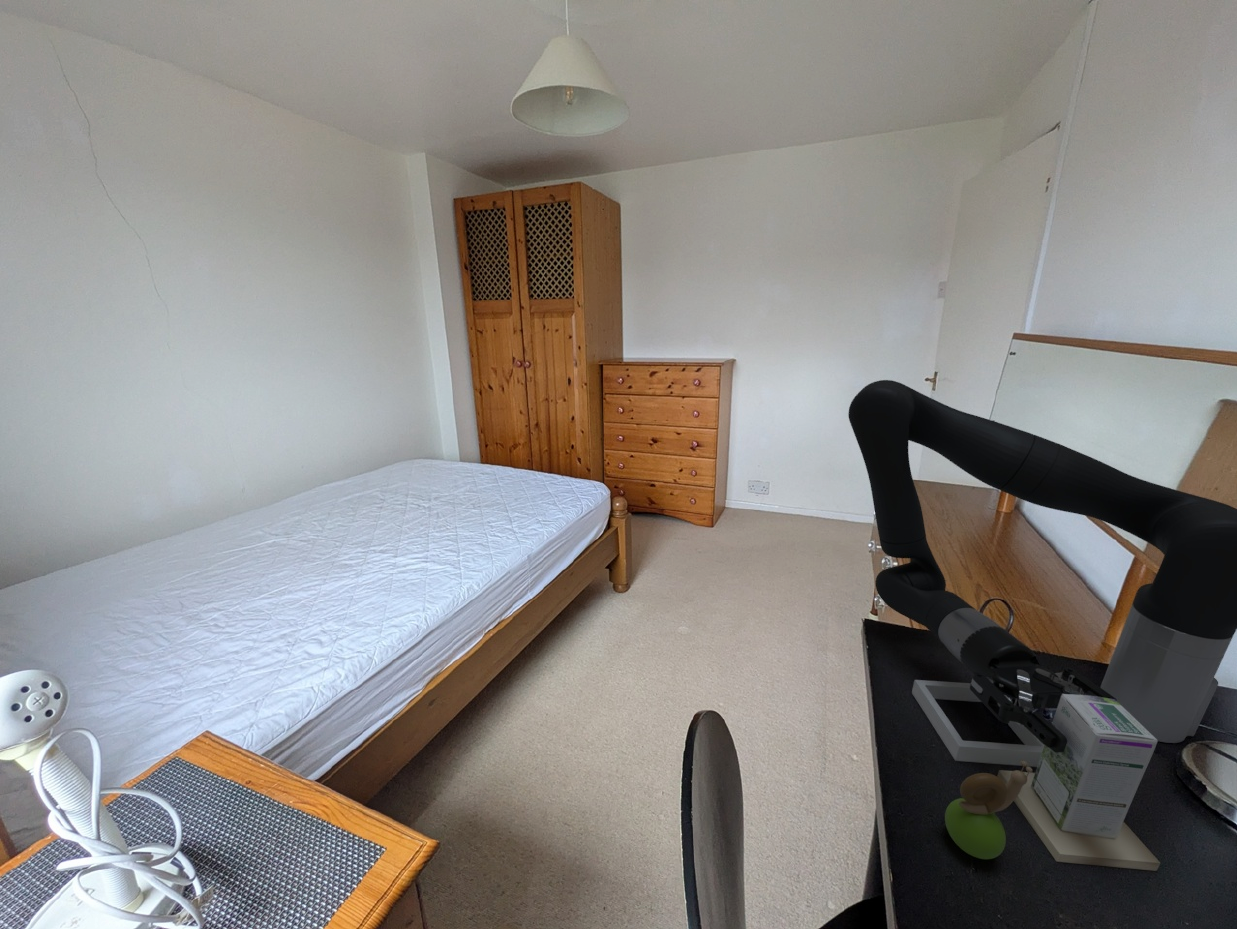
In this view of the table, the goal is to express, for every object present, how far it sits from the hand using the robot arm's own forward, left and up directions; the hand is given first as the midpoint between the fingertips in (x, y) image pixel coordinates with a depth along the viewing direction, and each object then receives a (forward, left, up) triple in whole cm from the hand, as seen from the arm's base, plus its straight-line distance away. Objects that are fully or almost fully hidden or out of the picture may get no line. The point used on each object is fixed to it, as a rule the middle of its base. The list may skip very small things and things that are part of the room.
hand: (1099, 744), depth 53 cm
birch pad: (0, 0, -11) cm, 11 cm away
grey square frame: (+3, -13, -11) cm, 17 cm away
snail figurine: (+13, +4, -12) cm, 18 cm away
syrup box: (0, 0, -10) cm, 10 cm away
